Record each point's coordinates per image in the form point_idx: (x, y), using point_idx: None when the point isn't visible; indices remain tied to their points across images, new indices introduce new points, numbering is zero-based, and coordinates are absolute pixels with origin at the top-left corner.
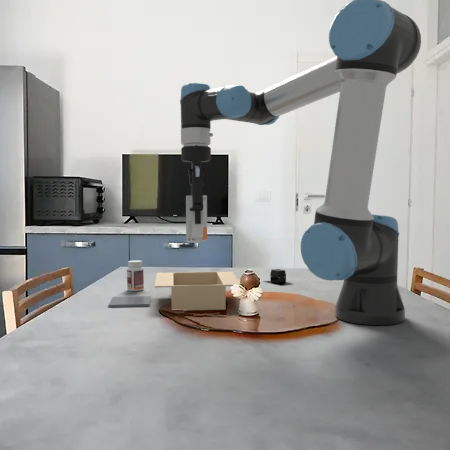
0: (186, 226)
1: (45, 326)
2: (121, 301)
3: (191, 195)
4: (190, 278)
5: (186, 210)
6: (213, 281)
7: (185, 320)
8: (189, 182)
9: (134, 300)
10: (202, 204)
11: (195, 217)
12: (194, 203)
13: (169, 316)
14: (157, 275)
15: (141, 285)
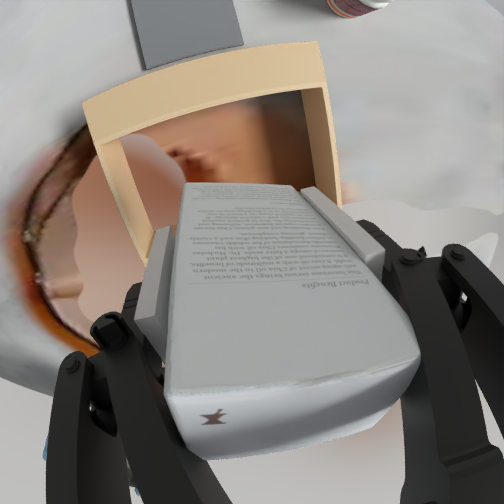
0: (179, 214)
1: (3, 8)
2: (169, 2)
3: (423, 357)
4: (322, 133)
5: (172, 274)
6: (326, 189)
7: (55, 189)
8: (482, 485)
9: (183, 23)
10: (96, 410)
11: (124, 312)
12: (62, 387)
13: (71, 149)
14: (265, 48)
15: (342, 11)
